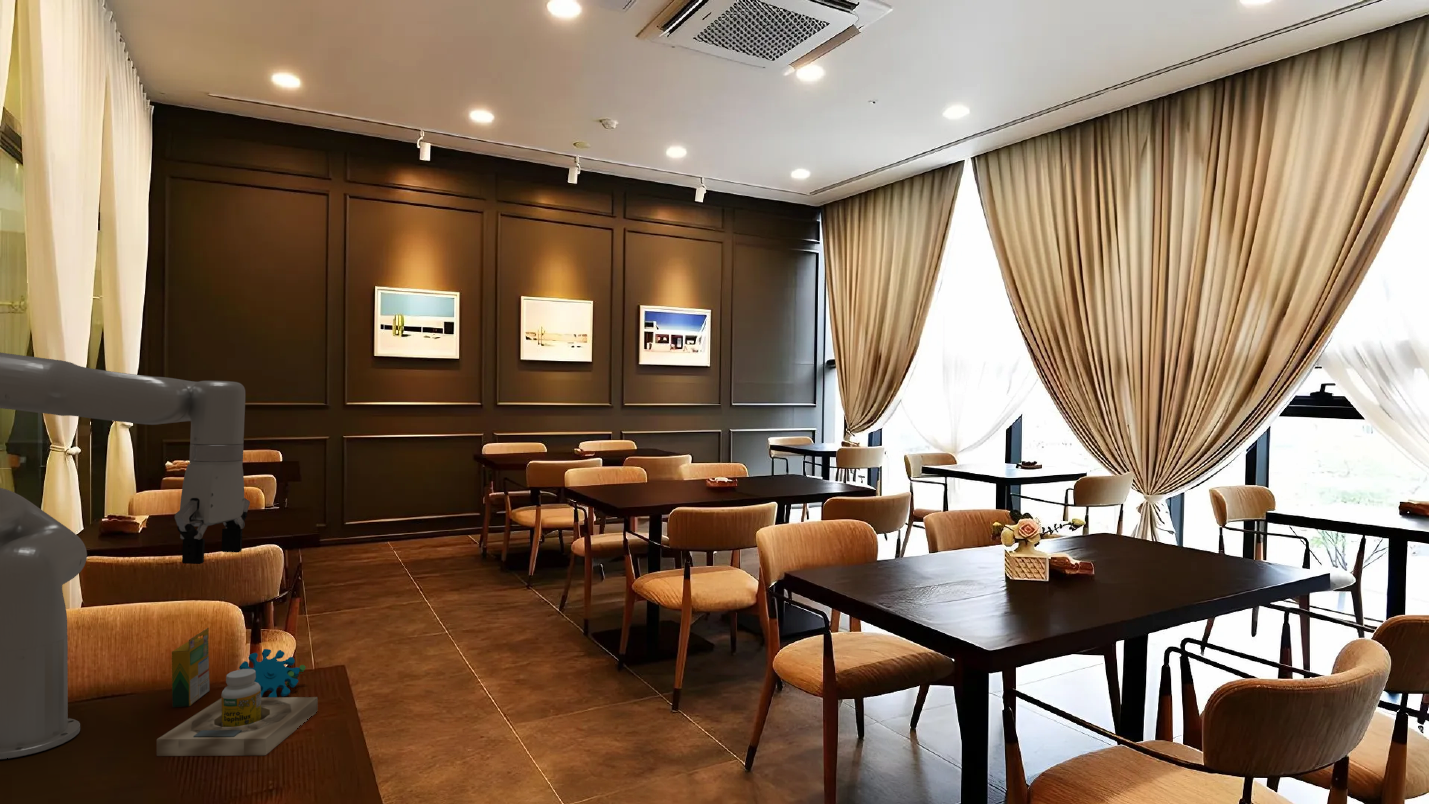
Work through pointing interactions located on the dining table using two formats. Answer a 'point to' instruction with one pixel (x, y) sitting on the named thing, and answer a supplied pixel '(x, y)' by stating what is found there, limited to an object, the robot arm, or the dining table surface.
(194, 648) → the crayon box
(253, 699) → the supplement bottle
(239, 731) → the socket board
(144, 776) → the dining table surface
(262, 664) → the blue virus toy
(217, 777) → the dining table surface
